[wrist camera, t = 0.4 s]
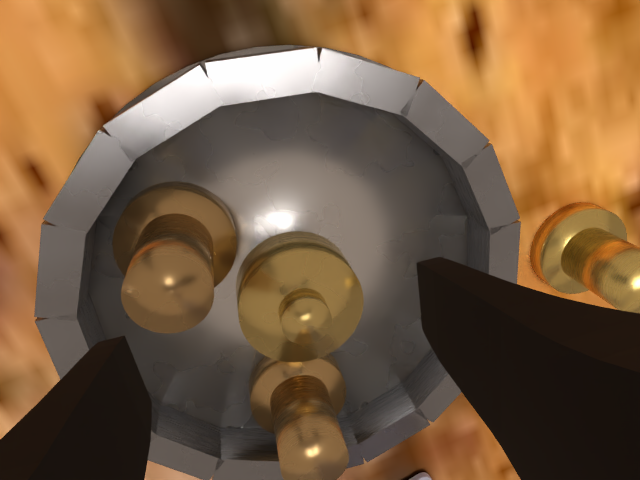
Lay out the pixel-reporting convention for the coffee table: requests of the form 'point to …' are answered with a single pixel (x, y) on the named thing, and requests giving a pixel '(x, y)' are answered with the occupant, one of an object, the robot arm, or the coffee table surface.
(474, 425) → the coffee table surface
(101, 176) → the carrier
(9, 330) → the coffee table surface
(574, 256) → the gear
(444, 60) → the coffee table surface
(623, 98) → the coffee table surface
